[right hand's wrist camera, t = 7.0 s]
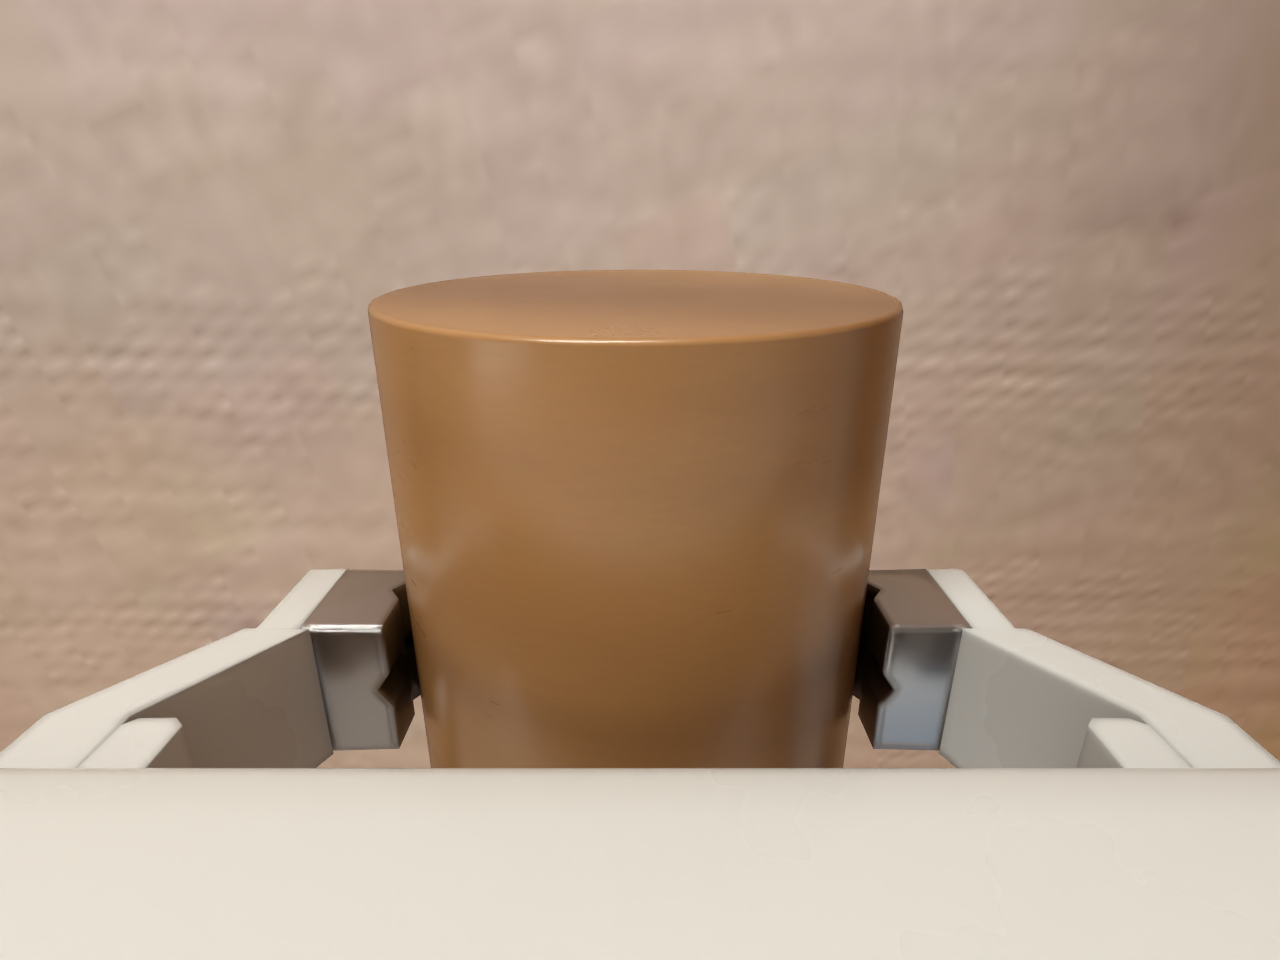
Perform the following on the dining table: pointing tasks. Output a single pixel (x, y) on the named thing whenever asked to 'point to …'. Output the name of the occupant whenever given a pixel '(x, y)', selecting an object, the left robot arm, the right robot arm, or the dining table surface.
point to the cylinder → (636, 511)
